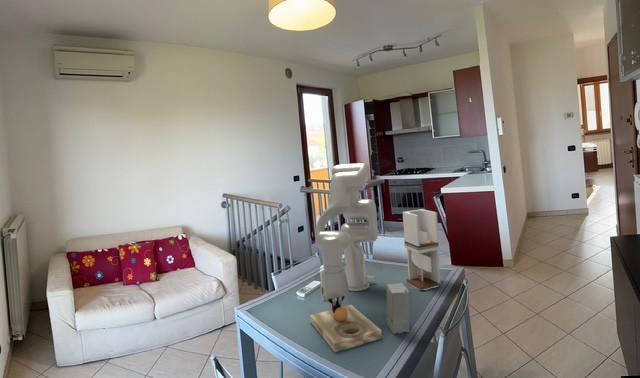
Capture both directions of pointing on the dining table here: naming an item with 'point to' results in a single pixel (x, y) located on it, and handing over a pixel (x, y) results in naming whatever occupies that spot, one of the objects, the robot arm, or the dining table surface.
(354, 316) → the block
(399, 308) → the skincare box
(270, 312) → the dining table surface
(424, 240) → the display case
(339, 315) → the ball
